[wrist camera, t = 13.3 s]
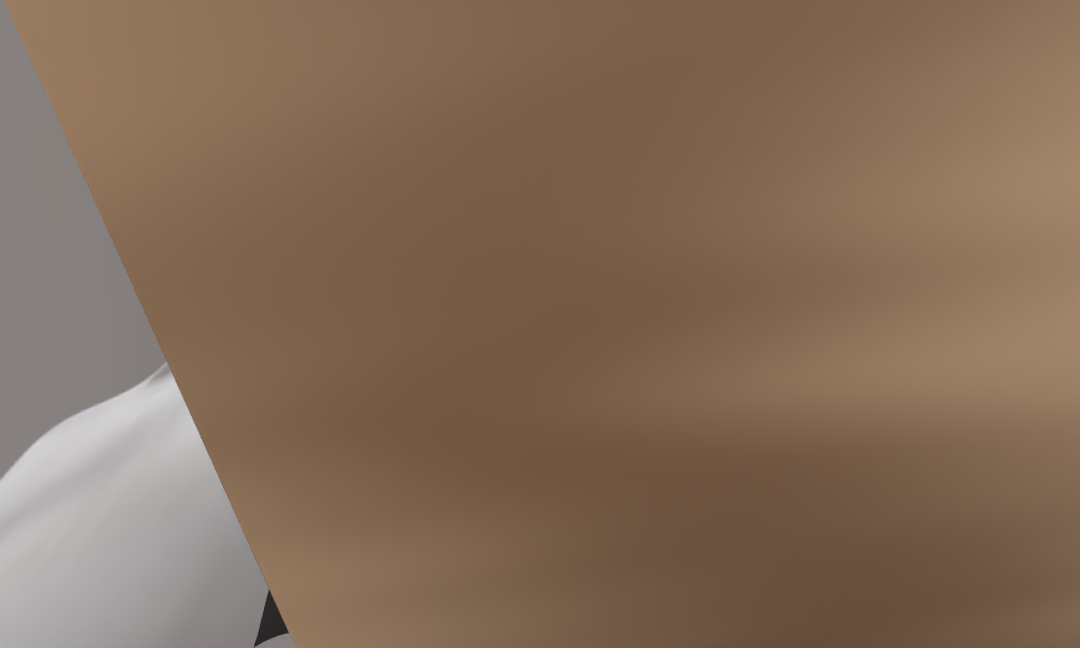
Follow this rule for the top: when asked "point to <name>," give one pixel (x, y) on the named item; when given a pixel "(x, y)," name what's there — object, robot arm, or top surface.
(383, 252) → the brown wooden block
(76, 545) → the top surface
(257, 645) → the robot arm
